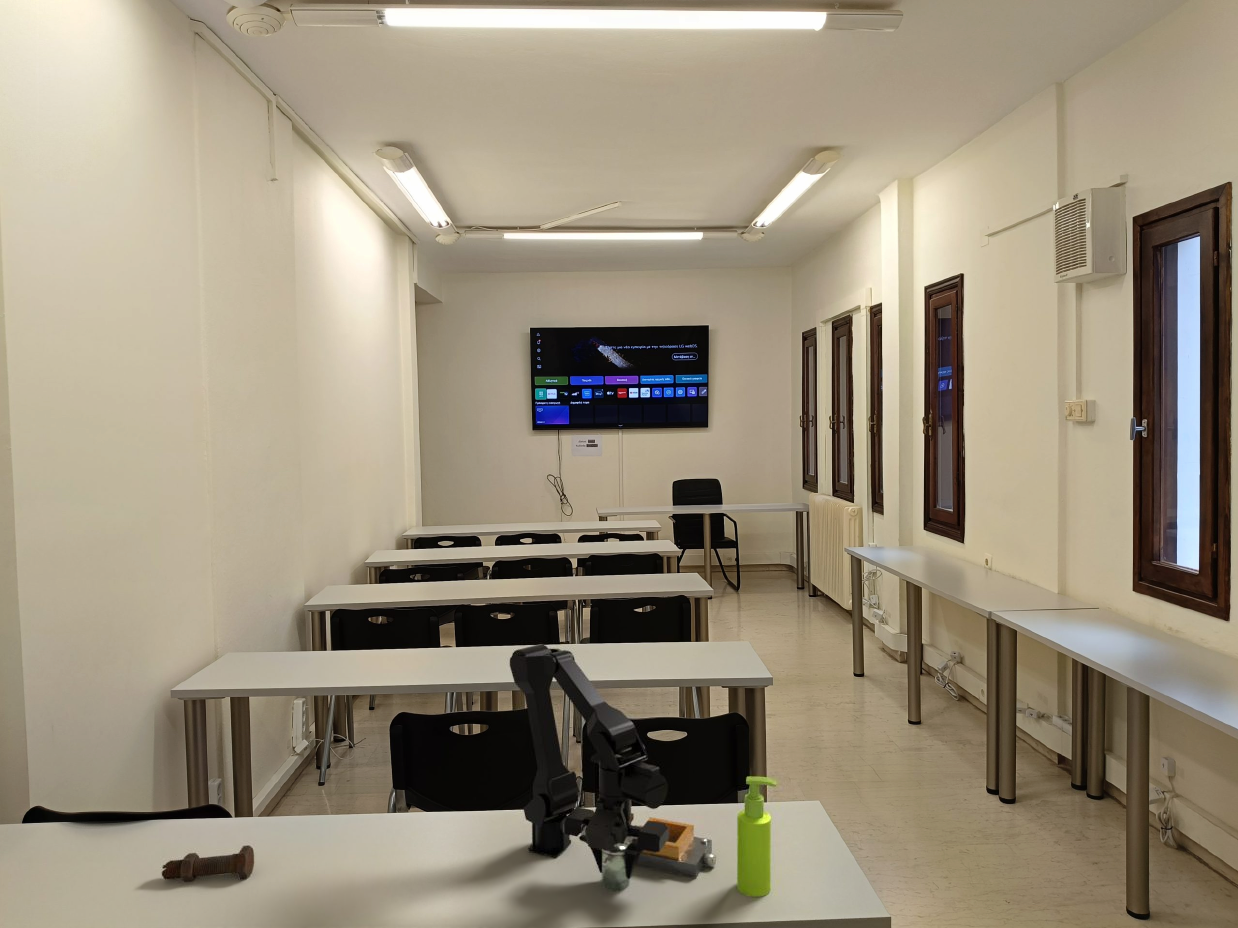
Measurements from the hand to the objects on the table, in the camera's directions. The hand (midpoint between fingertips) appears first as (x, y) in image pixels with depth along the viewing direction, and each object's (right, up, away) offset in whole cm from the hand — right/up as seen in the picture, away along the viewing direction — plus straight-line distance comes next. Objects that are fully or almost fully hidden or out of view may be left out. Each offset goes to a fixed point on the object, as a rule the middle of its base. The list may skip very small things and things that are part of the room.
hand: (615, 874), depth 153 cm
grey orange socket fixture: (+9, -1, +9) cm, 13 cm away
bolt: (-75, -2, +3) cm, 75 cm away
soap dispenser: (+25, -2, -2) cm, 25 cm away
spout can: (-1, -2, -1) cm, 2 cm away
